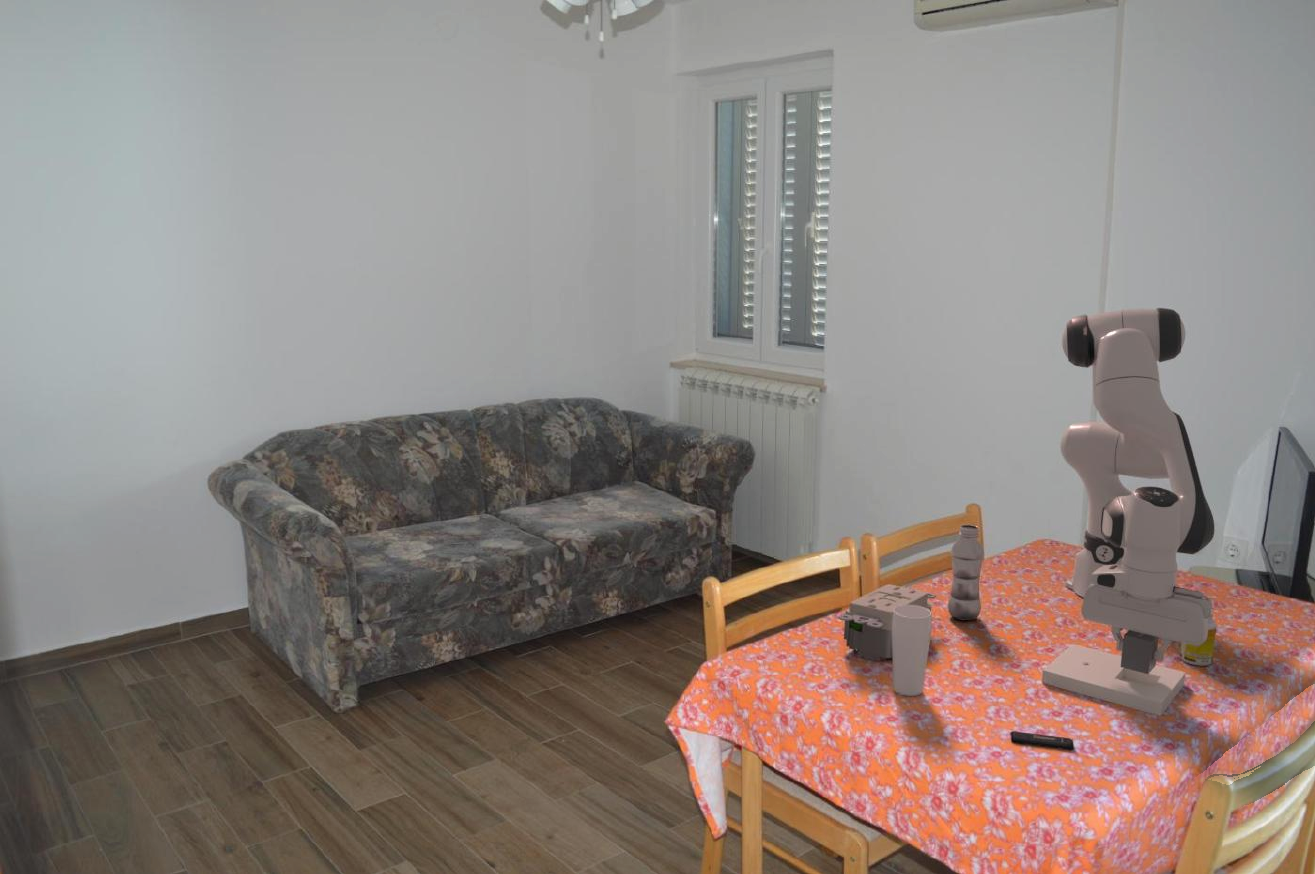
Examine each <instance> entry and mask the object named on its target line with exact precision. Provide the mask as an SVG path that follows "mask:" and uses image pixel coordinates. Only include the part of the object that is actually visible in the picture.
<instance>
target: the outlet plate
mask: <svg viewBox="0 0 1315 874" xmlns="http://www.w3.org/2000/svg"><path fill="white" fill-rule="evenodd" d="M1121 657H1122V655H1119V654H1115V653H1111V652H1106V651H1102V650H1098V649H1095V648H1090V647H1087V646H1083V645H1078V644H1076V643H1071V644H1070V646H1068V647H1067V648H1065V650H1064V651H1063V652H1061V653H1060V654H1059V655H1058V656H1057V657H1056V658H1055V659H1054V660H1052V661H1051V662H1050V663H1049V664H1048V665H1047V666H1046V667H1045V668H1044V669H1042V677H1041V683H1042V684H1045V685H1049V686H1052V687H1056V688H1059V689H1060V688H1061V689H1063V690H1065V691H1070V692H1074V693H1077V694H1081V695H1084V696H1087V697H1091V698H1095V699H1098V700H1101V701H1106V702H1109V703H1113V704H1117V705H1120V706H1124V707H1126V708H1130V709H1134V710H1137V711H1141V712H1144V713H1147V714H1148V713H1149V714H1151V715H1155V716H1159V717H1161V716H1162V715H1163V713H1165V710H1167V708H1168V707H1169V706H1170V704H1171V703H1172V702H1173V701H1174V699H1175V698H1176V696H1177V695H1178V694H1179V692H1180V691H1181V690H1182V688H1183V687H1184V686H1185V683H1186V682H1185V681H1186V674H1187V673H1186V672H1185V671H1181V670H1178V669H1173V668H1170V667H1165V666H1161V665H1158V664H1156V666H1155V667H1154V668H1153V669H1152V671H1151V672H1150V673H1149V674H1145V673H1141V672H1137V671H1134V670H1130V669H1126V668H1122V667H1121Z"/></svg>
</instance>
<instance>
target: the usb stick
mask: <svg viewBox="0 0 1315 874" xmlns="http://www.w3.org/2000/svg"><path fill="white" fill-rule="evenodd" d="M1009 736H1010V740H1011V741H1010V742H1011V743H1013V744H1021V745H1028V746H1029V745H1030V746H1035V747H1043V748H1051V749H1060V750H1066V751H1072V750H1074V749H1075V748H1074V747H1075V746H1074V745H1075V744H1074V740H1073V739H1071V738H1070V737H1063V736H1055V735H1049V734H1048V735H1046V734H1038V733H1030V732H1022V731H1016V730H1012V731H1010V734H1009Z"/></svg>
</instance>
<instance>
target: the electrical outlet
mask: <svg viewBox="0 0 1315 874" xmlns="http://www.w3.org/2000/svg"><path fill="white" fill-rule="evenodd" d="M935 598H937V594H935V593H931V592H927V591H922V590H918V589H917V590H916V589H914V588H908V587H904V586H900V585H899V586H898V585H895V584H889V583H888V584H885V585H883V586H881V587H879V588H877V589H875V590H873V591H871V592H869V593H866V594H865V595H862V596H860V597H858V598H856V599H854V600H851V601H850V602H849V608H848V609H845V613H844V614H839V615H838V616H837V618H838V619H839V620H841V621H844V626H843V627H844V628H843V629H844V630H843V639H844V640H846V644H845V645H846V647H848V648H849V649H851V650H856V652H857V654H858V655H859V656H860V657H862V658H865V659H869V660H873V661H878V662H880V661H882V660H885V659H892V615H893V609H894V608H895V607H896V606H899V605H917V606H922V607H925V608H927V609H929V610H930V611H931V612H932V604H931V603H930V602H928V599H935Z"/></svg>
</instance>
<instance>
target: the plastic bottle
mask: <svg viewBox="0 0 1315 874" xmlns="http://www.w3.org/2000/svg"><path fill="white" fill-rule="evenodd" d="M979 530H980V529H979V526H977V525H974V524H973V525H972V524H962V525H960V527H959V532H958V535H959V536H960V537H959V538H958V539H957V540H956V541H955V542H954V543H953V545H952V547H951V550H950V555H951V565H952V581H951V583H952V584H951V589H950V595H949V596H948V597H949V598H948V603H947V609H948V610H947V611H948V613H949V615H950V616H951V617H952V618H954V619H957V620H961V621H962V620H963V621H972V620H976V619H977V618H978V617H979V616H980V613H981V609H982V605H981V597H980V577H981V570H982V565H983V561H984V556H985V552H984V547H983V546H982V544H981V543H980V541H979V539H978V538H979V537H980V534H979Z"/></svg>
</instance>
